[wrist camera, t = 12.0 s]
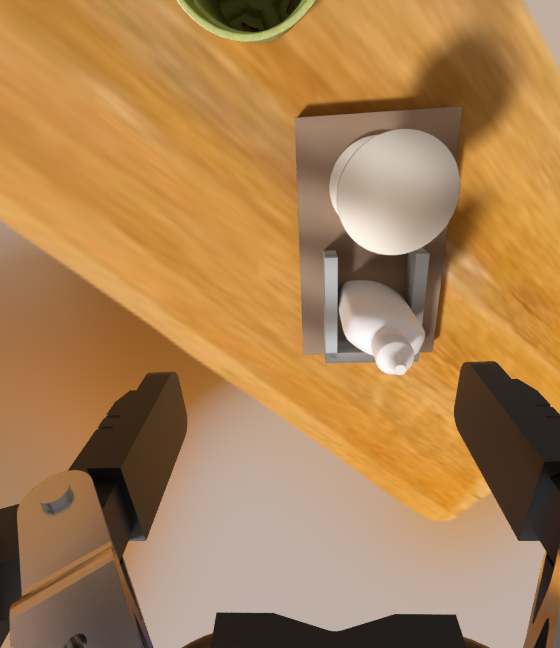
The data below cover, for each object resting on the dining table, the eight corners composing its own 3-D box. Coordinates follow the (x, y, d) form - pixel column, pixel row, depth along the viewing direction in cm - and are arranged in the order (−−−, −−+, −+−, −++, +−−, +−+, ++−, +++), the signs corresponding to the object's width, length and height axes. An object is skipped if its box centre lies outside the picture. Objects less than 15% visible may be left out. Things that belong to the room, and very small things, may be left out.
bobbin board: (295, 119, 29) (291, 105, 20) (455, 108, 28) (522, 88, 20) (303, 347, 38) (303, 407, 29) (427, 344, 37) (466, 405, 28)
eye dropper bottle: (371, 334, 35) (402, 418, 24) (329, 294, 34) (340, 363, 23) (409, 303, 33) (460, 376, 22) (366, 259, 32) (398, 315, 21)
